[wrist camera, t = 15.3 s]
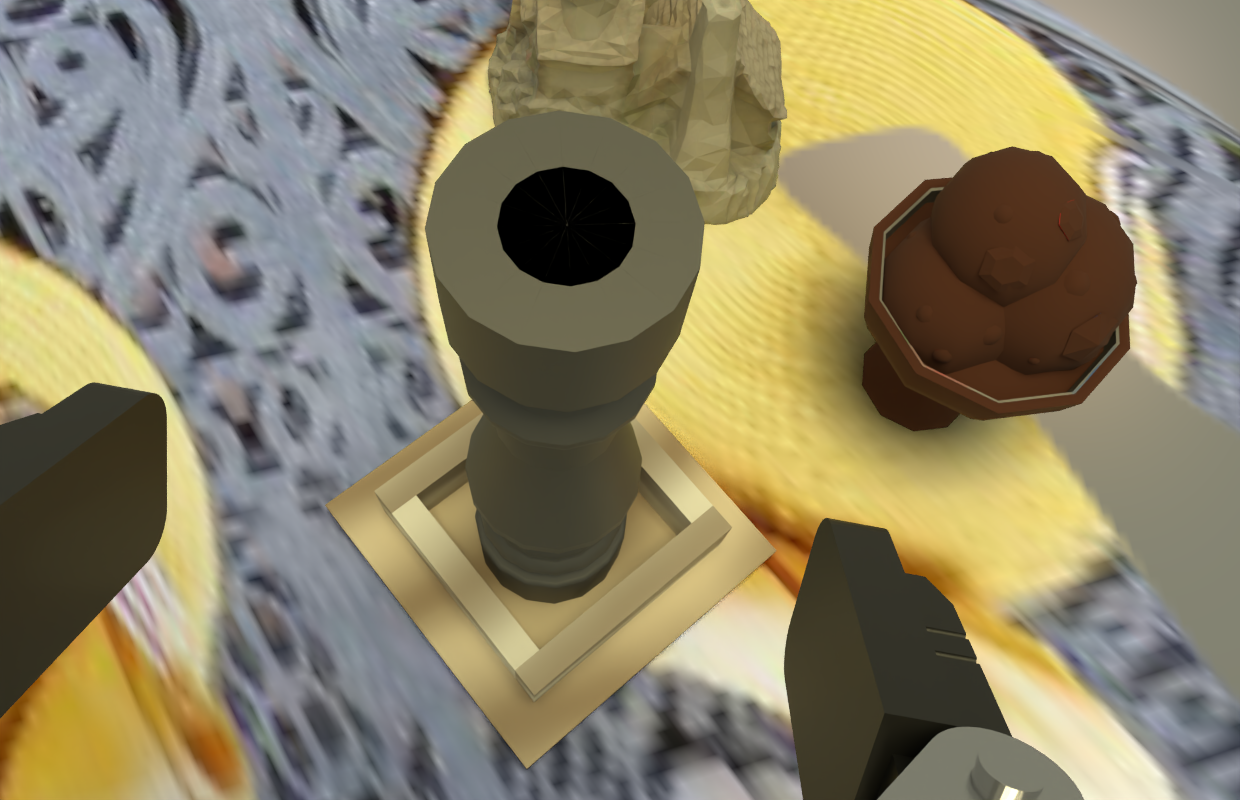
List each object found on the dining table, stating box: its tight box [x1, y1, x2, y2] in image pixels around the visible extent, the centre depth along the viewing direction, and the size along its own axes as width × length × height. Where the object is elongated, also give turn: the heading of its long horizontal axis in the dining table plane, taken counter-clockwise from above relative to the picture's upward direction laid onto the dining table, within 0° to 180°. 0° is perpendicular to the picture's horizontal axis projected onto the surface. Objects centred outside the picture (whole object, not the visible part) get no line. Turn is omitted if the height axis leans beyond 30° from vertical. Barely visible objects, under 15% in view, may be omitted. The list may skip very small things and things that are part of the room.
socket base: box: [325, 400, 776, 769], centre depth 42 cm, size 14×14×4 cm
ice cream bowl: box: [862, 147, 1137, 431], centre depth 42 cm, size 11×11×15 cm
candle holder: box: [425, 110, 705, 604], centre depth 32 cm, size 6×6×25 cm
